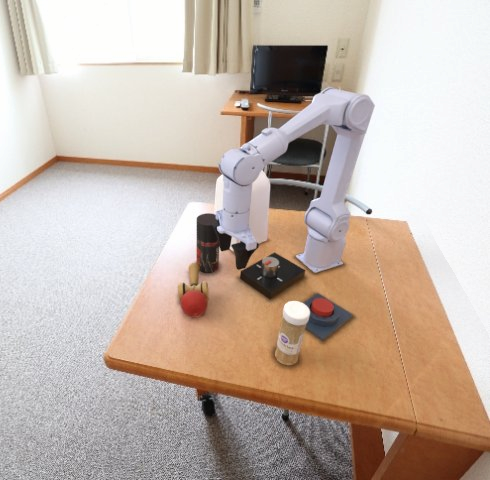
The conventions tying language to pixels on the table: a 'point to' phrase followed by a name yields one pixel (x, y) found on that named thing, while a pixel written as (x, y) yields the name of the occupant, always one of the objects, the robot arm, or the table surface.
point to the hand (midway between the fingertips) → (232, 258)
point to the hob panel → (272, 286)
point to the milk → (251, 206)
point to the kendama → (193, 293)
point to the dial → (269, 267)
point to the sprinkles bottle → (291, 332)
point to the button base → (325, 320)
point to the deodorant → (207, 244)
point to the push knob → (322, 307)
